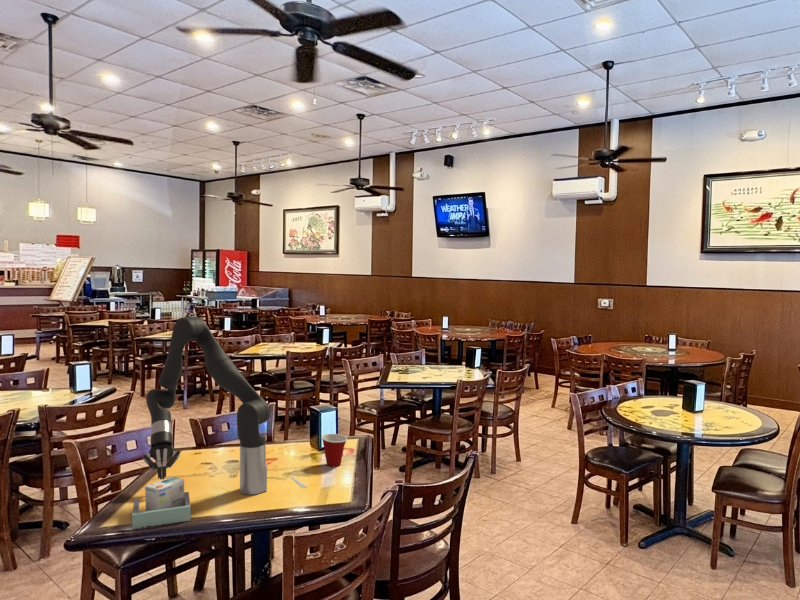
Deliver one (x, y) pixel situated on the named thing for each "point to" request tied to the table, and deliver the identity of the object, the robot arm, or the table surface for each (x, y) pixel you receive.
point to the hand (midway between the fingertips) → (162, 478)
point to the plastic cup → (333, 448)
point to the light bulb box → (165, 494)
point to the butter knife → (299, 483)
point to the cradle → (161, 514)
